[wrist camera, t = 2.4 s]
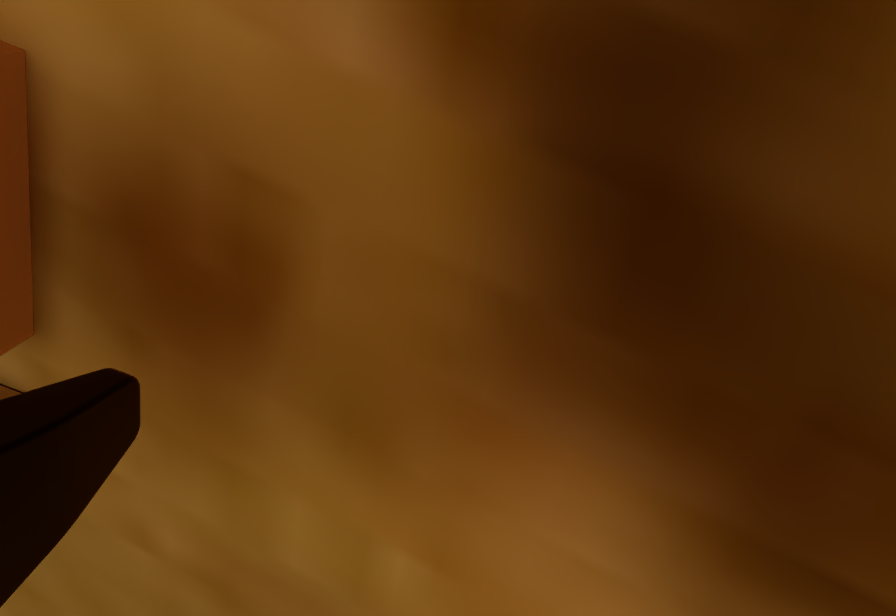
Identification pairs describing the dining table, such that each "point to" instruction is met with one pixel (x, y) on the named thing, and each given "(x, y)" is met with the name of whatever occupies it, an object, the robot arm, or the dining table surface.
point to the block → (14, 203)
